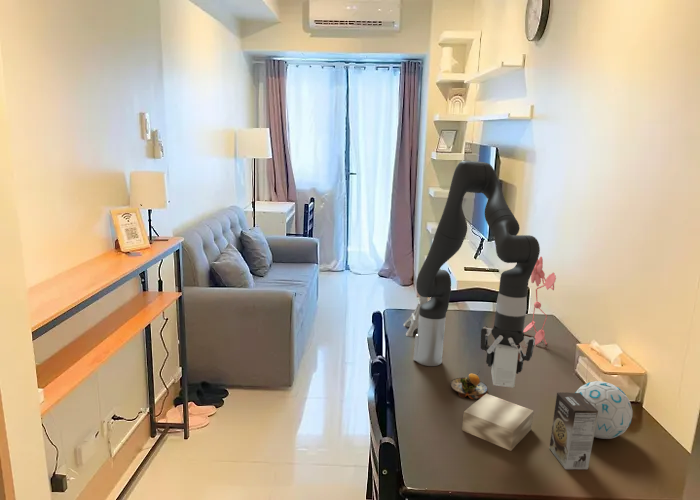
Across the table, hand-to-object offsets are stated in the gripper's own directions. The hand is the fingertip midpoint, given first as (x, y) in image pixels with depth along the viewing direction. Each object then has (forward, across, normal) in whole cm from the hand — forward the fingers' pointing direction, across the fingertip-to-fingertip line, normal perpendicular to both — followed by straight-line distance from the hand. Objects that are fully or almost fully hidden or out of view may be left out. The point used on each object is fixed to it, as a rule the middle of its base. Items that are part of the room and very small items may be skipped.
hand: (503, 369), depth 143 cm
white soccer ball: (+18, +24, +14) cm, 33 cm away
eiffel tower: (+18, -47, +57) cm, 76 cm away
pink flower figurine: (+18, -9, +74) cm, 77 cm away
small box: (+4, 0, 0) cm, 4 cm away
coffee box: (+18, +19, -3) cm, 27 cm away
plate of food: (+19, -14, +18) cm, 29 cm away
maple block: (+18, 0, 0) cm, 18 cm away
